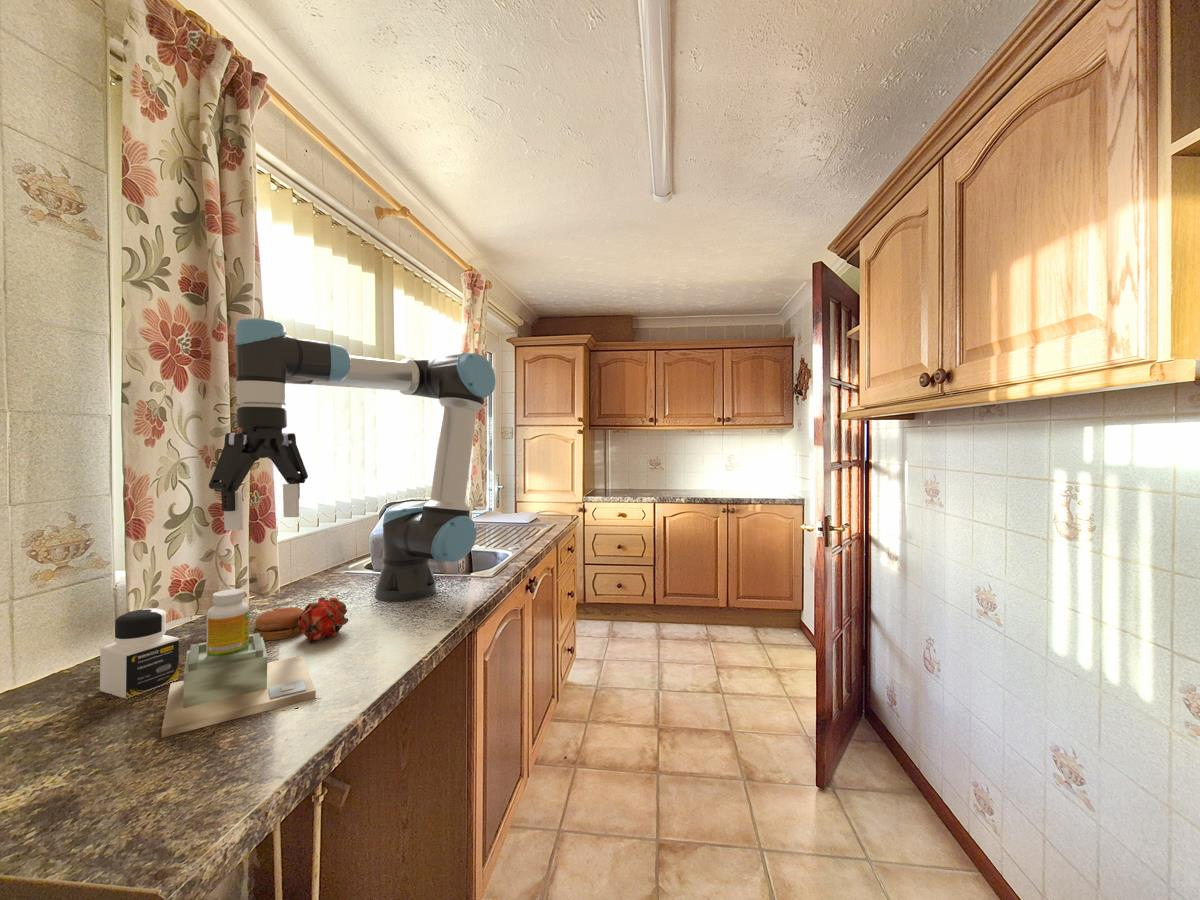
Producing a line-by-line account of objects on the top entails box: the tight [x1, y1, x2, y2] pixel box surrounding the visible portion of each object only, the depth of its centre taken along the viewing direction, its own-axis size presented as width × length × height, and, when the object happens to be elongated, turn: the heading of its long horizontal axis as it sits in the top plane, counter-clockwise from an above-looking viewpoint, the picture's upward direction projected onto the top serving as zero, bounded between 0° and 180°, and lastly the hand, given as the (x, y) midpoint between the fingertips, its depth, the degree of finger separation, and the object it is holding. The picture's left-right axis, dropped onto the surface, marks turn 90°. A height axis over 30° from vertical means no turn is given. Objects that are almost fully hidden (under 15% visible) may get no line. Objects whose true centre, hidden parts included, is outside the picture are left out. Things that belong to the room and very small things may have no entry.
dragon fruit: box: [298, 596, 349, 644], centre depth 101 cm, size 8×8×12 cm
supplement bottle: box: [205, 588, 250, 658], centre depth 78 cm, size 5×5×10 cm
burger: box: [252, 606, 305, 641], centre depth 104 cm, size 10×9×5 cm
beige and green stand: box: [161, 633, 317, 739], centre depth 78 cm, size 18×16×7 cm
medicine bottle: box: [99, 607, 180, 700], centre depth 80 cm, size 7×7×12 cm
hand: (264, 523), depth 90 cm, fingers open, 13 cm apart
